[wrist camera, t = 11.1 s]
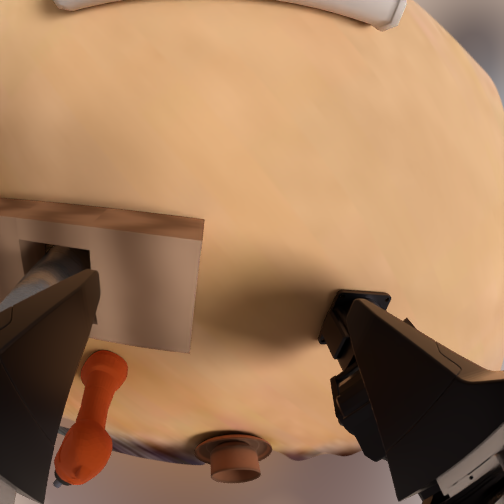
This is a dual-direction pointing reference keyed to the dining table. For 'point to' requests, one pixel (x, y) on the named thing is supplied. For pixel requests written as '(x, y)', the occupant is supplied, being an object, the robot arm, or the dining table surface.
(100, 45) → the dining table surface
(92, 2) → the tube
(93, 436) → the toy drill
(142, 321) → the grey hollow block
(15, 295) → the metallic cylinder
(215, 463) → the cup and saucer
